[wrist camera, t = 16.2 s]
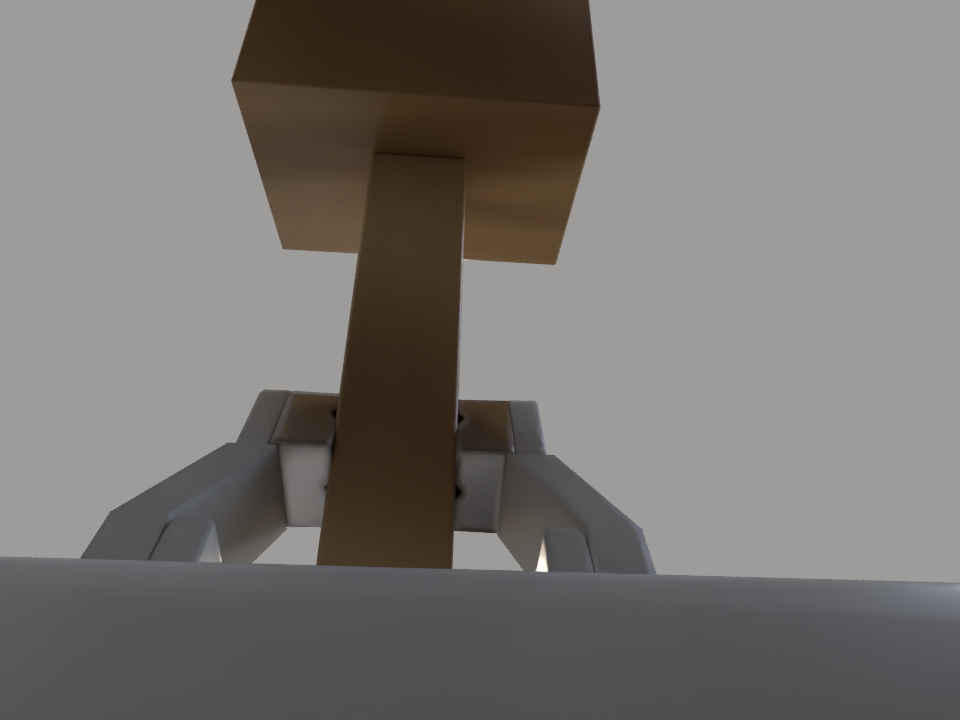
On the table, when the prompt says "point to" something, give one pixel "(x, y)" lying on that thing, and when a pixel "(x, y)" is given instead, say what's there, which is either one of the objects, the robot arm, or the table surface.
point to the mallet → (413, 213)
